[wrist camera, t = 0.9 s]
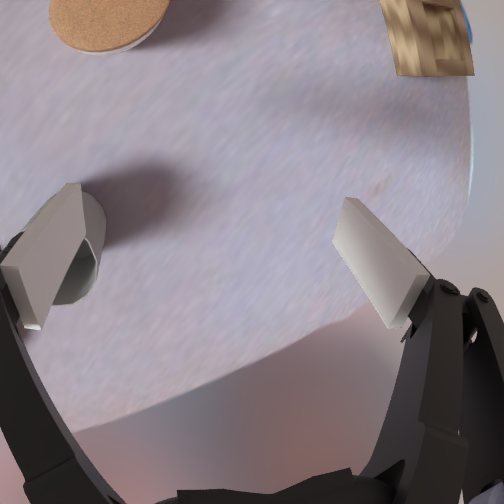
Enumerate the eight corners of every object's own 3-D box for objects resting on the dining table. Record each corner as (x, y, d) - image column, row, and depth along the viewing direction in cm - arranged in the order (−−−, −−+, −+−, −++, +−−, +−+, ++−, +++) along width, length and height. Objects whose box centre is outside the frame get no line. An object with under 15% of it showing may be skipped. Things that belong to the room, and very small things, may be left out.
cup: (83, 174, 29) (62, 200, 20) (120, 234, 33) (115, 278, 25) (28, 215, 28) (-4, 252, 20) (65, 269, 32) (49, 319, 24)
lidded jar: (177, -15, 23) (192, -52, 15) (149, 69, 26) (152, 53, 19) (85, -23, 18) (72, -60, 10) (55, 62, 22) (26, 46, 14)
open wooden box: (376, -10, 28) (405, -18, 23) (432, 0, 31) (458, -3, 26) (397, 75, 36) (427, 76, 31) (447, 73, 38) (474, 75, 33)
